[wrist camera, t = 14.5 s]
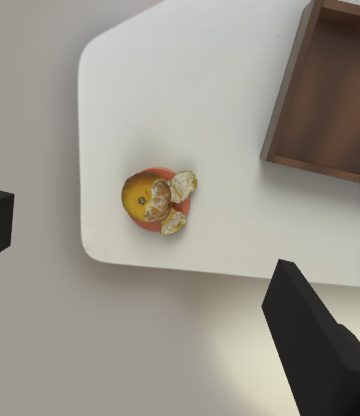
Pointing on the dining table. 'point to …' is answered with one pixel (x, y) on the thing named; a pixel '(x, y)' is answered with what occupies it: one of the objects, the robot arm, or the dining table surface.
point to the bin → (320, 95)
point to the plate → (178, 207)
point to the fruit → (158, 198)
